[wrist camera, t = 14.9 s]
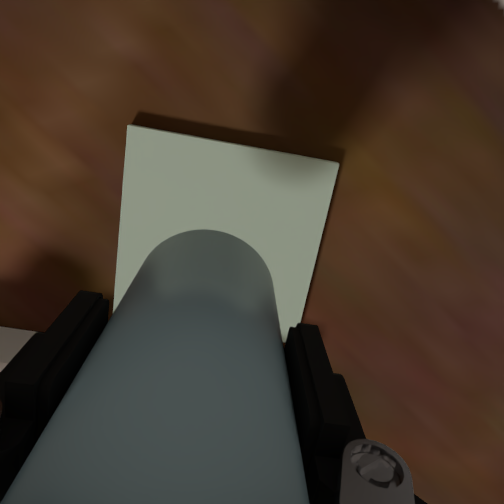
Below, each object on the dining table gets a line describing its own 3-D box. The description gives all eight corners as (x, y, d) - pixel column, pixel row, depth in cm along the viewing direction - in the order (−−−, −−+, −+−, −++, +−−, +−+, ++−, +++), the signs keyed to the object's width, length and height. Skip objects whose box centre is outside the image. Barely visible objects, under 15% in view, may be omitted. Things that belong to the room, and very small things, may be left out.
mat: (336, 162, 21) (339, 163, 20) (293, 338, 24) (295, 344, 23) (131, 124, 20) (127, 125, 19) (115, 311, 23) (112, 316, 23)
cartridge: (296, 235, 15) (462, 656, 4) (266, 368, 17) (314, 914, 6) (135, 208, 14) (-238, 596, 3) (122, 348, 16) (-139, 899, 5)
